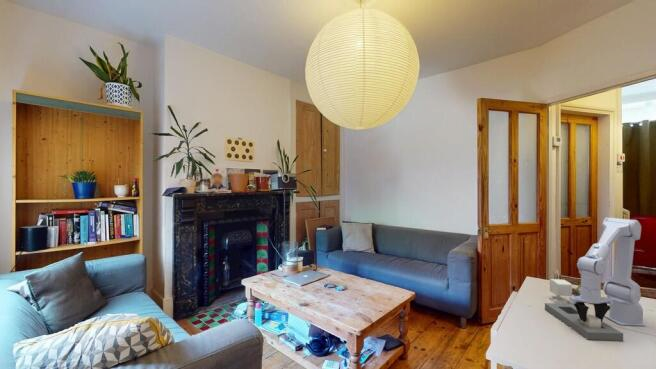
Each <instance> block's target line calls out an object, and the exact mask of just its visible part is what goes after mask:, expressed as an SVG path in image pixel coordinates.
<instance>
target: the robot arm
mask: <svg viewBox="0 0 656 369" xmlns="http://www.w3.org/2000/svg"><path fill="white" fill-rule="evenodd" d="M602 228H603V232H602V234H601V235H600V238H599V240H598V242H595V243H593V244H592V245H591V246H590V247H589V249H588V251H587V252H586V254H585V255H584V256H581V257H579V258H578V260H577V263H576V267H577V268H578V273H579V274H580V284H581V294H580V295H576V296H568V297H569V300H568V301H569V302H570V304H574V306H575V307H576V309H577V311H578V314H579V317H580V320H582V321H584V322H586V319H587V313H588V310H589V308H590V307H589V306H587V305H586V304H593V308H594V316H595V317H597V318H599V319H601V322H602V321H603V322H604V318H605V317H606V318H607V319H609V320H611V321H613V322H614V323H616V324H618V325H620V326H639V327H640V326H644V327H645V326H646V323H645V324H644V309H643V307H642V305H641V304H640V300H641V298H642V292H641V286H640V285H639V284H638V283H637V282H635V281H634V280H633V279H632V271H633V270H632V269H633V261H634V260H633V259H634V251H635V242H636V241H638V240H640V239H641V235H642V234H641V233H642V225H641V223H640V222H639V220H637V219H628V218H618V217H611V216H607V217H605V218H604V219H603V221H602ZM616 241H617V242H616ZM615 242H616V252H615V262H614V269H613V270H614V271H613V275H612V276H609V277H606V278H605V281H604V284H603V287H601V286H602V285H601V284H602V281H601V280H602V278H601V277H602V274H603V273H604V271H605V267H606V264H607V263H606V261H607V259H608V257H609V256H610V255H611V253H612V250H611V249H610V248H611V247H612V246H613V244H614V243H615ZM601 288H602V289H601ZM602 291H603V293H604V294H605V296H606V297H605V296H601V295H602ZM608 312H609V313H608ZM607 313H608V314H607Z"/></svg>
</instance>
